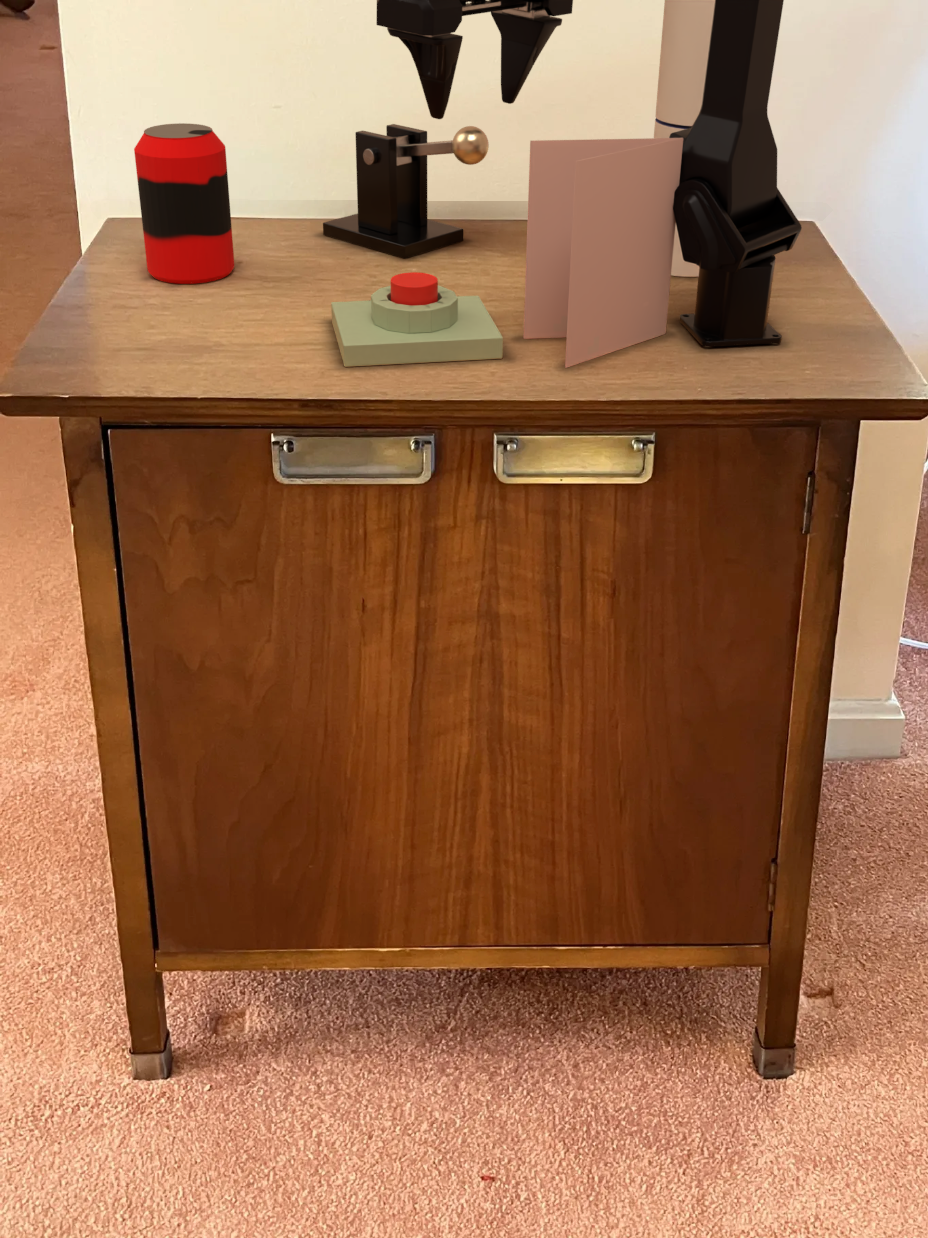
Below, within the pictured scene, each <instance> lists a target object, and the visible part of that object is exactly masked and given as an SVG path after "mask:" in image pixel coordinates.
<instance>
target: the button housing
mask: <svg viewBox="0 0 928 1238" xmlns="http://www.w3.org/2000/svg"><path fill="white" fill-rule="evenodd" d="M330 310H331V311H330V312H331V313H330V314H331V324H332V328H333V331H334V336H335V338H336V342H337V345H338V349H339V353H340V355H341V359H342V363H343V366H344V367H345V368H351V367H352V368H353V367H368V366H370V367H371V366H386V365H389V366H391V365H409V364H425V363H427V364H428V363H442V362H443V363H445V362H462V361H465V362H466V361H483V360H499V359H501V360H502V359H503V358H504V357H503V356H504V337H503V334H502V333H501V332H500V330H499V328H498V327H497V325H496V323H495V321H494V320H493V317H492V316H491V314H490V313H489V311H488V309H487V307H486V306H485V304H484V302H483V300H482V299H481V297H480V295H458V296H457V293H455V291H454V290H452V289H449V288H447V287H444V286H441V285H439V284H438V302H435V303H431V304H428V305H415V306H410V305H403V304H396V303H394V302H392V301H391V285H388V286H384V287H379V288H378V289H377V290H375V291H374V292H373V293H372V294H371V295H370V300H349V301H346V300H345V301H331V302H330Z"/></svg>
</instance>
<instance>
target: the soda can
mask: <svg viewBox="0 0 928 1238" xmlns="http://www.w3.org/2000/svg"><path fill="white" fill-rule="evenodd" d="M133 151H134V161H135V170H136V179H137V187H138V197H139V206H140V214H141V224H142V232H143V241H144V251H145V259H146V269H147V272H148V273H149V274H150V275H151V276H152V277H153V278H154V279H156V280H158V281H160V282H164V283H168V284H177V285H180V284H181V285H196V284H197V285H198V284H204V283H211V282H216V281H219V280H221V279H223V278H226V277H228V276H229V275H230V274H231V273H232V271H233V270H234V269H235V254H234V253H235V252H234V241H233V230H232V216H231V203H230V202H231V201H230V188H229V177H228V175H229V174H228V164H227V151H226V145H225V144H224V142H223V141H222V140H221V139H220V137H219V136H218V135H217V134H216V133H215V132H214V131H213V128H212V127H210V126H208V125H205V124H198V123H187V122H186V123H181V122H179V123H165V124H158V125H153V126H150V127H148V128H145V129H144V130H143V133H142V135H141V137H140V139H139V140H138V142H137V144H136V145H135V146H134V148H133Z"/></svg>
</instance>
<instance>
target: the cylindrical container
mask: <svg viewBox="0 0 928 1238" xmlns="http://www.w3.org/2000/svg"><path fill="white" fill-rule="evenodd" d="M714 6H715V0H664V6H663V17H662V28H661V29H662V30H661V40H660V41H661V43H660V55H659V66H658V67H659V68H658V80H657V90H656V91H657V92H656V93H657V94H656V107H655V120H654V129H653V138H669V137H670V134H671V133H674V132H677V131H681V130H685V129H688V128H691V127H692V126H693V124H694V122H695V120H696V118H697V116H698V115H699V112H700V109H701V106H702V99H703V91H704V84H705V76H706V68H707V60H708V52H709V45H710V37H711V29H712V21H713V14H714ZM671 276H675V277H682V278H683V277H685V278H686V277H687V278H688V277H691V278H694V277H696V278H697V277H698V276H699V266H698V265H696V264H693V263H689V262H685V261H684V260H683V256H682V251H681V246H680V241H679V236H678V231H677V226H676V224H675V235H674V246H673V257H672V268H671Z"/></svg>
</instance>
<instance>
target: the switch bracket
mask: <svg viewBox="0 0 928 1238" xmlns="http://www.w3.org/2000/svg"><path fill="white" fill-rule="evenodd" d="M385 127H386V134H380V133H376V132H371V131H366V130H358V131H356V132H354V133H355V134H354V135H355V162H356V164H355V165H356V166H355V167H356V168H355V169H356V197H357V198H356V201H357V204H356V205H357V213H355V214H350V215H346V216H344V217H339V218H335V219H331V220H328V221H324V222H322V234H323V236H325V237H329V238H333V239H336V240H340V241H343V242H347V243H350V244H354V245H357V246H361V247H363V248H367V249H370V250H374V251H377V252H381V253H384V254H388V255H390V256H393V257H398V258H400V259H401V258H402V259H405V260H406V259H408V258H412V257H414V256H415V257H416V256H418V255H422V254H425V253H429V252H433V251H434V250H438V249H442V248H445V247H448V246H451V245H454V244H459V243H461V242H464V233H465V232H464V231H465V230H464V228H463V227H459V226H455V225H451V224H447V223H443V222H439V221H435V220H432V219H428V155H425V156H412V163H408V164H404V165H400V166H397V144H396V138H394V137H396V136H407V135H408V137H409V144H415V143H427V142H428V131H427V130H424V129H419V128H414V127H409V126H405V125H400V124H396V123H392V124H387V125H386V126H385Z"/></svg>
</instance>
